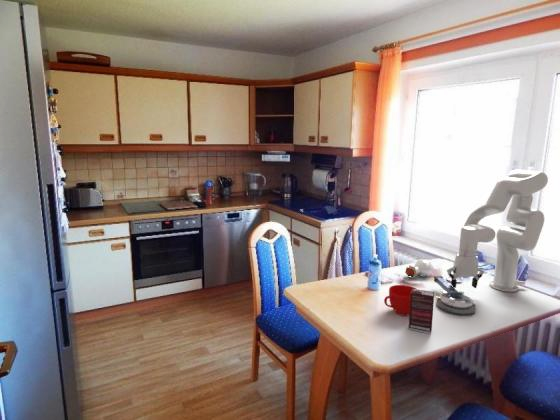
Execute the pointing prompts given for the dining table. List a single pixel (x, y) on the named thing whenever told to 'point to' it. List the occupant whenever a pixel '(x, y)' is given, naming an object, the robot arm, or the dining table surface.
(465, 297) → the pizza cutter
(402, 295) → the ceramic cup
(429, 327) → the supplement box
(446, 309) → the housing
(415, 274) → the potion bottle
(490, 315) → the dining table surface
